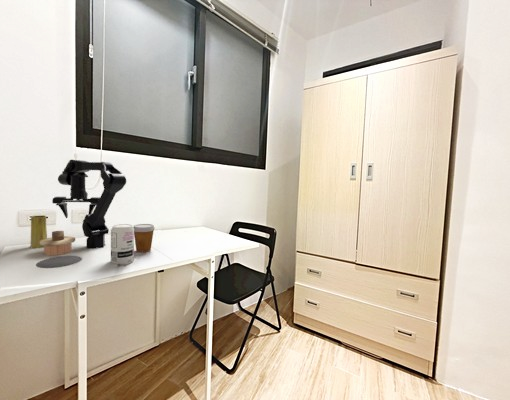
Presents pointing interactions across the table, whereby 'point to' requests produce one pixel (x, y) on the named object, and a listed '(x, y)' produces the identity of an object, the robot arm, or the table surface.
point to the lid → (57, 239)
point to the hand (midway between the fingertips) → (78, 217)
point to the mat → (59, 261)
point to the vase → (38, 231)
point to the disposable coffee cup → (143, 237)
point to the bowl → (57, 249)
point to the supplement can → (122, 244)
